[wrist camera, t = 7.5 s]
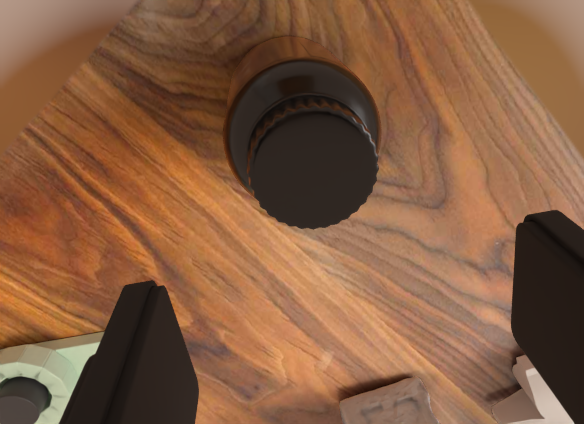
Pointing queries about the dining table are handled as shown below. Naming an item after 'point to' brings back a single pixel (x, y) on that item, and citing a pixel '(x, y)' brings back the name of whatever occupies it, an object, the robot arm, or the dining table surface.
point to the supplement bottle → (301, 133)
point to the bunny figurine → (530, 400)
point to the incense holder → (390, 405)
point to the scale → (50, 368)
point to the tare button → (22, 400)
